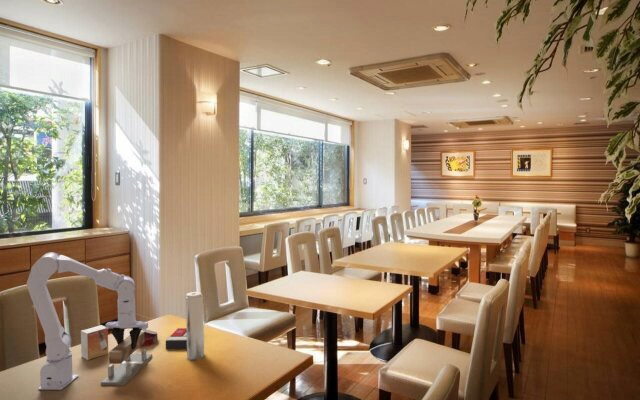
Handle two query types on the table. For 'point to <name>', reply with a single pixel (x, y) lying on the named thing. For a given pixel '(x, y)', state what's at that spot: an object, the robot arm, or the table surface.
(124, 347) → the banded tan post
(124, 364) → the base plate
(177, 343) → the black and red box
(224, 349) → the table surface
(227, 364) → the table surface
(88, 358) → the small box
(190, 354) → the paper towel roll
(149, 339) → the canned food
